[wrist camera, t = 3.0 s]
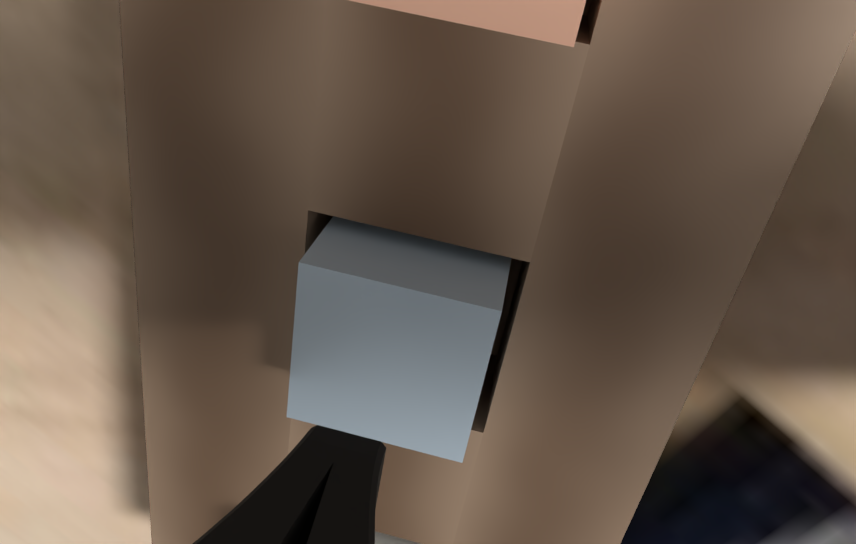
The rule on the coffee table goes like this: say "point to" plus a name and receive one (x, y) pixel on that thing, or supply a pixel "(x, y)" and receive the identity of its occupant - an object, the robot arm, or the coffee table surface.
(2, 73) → the coffee table surface
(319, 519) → the robot arm
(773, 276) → the coffee table surface
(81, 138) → the coffee table surface
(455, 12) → the pink cube
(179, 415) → the board
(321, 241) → the slate key
